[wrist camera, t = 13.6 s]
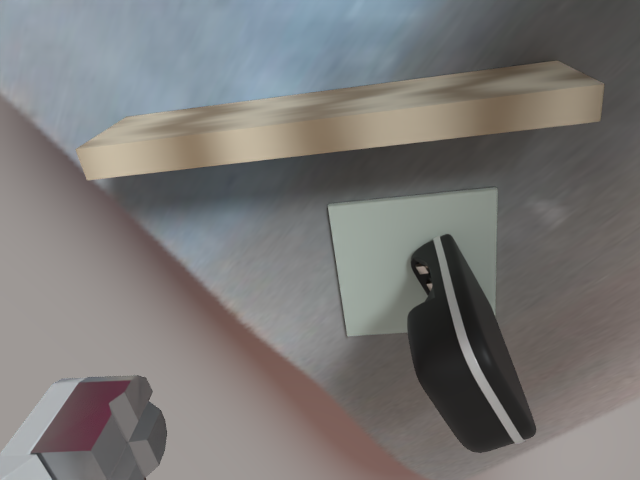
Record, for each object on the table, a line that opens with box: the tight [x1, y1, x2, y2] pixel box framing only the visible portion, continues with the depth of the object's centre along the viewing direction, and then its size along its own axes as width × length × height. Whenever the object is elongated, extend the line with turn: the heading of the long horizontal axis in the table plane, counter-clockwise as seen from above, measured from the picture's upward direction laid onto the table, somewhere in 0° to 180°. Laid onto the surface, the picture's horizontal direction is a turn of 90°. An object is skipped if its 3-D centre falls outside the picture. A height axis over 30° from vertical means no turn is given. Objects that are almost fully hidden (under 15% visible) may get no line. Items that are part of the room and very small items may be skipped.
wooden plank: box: [75, 61, 604, 180], centre depth 26 cm, size 24×2×6 cm, turn 98°
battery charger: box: [407, 234, 536, 453], centre depth 28 cm, size 7×4×11 cm, turn 32°
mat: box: [328, 187, 497, 337], centre depth 33 cm, size 10×10×1 cm
